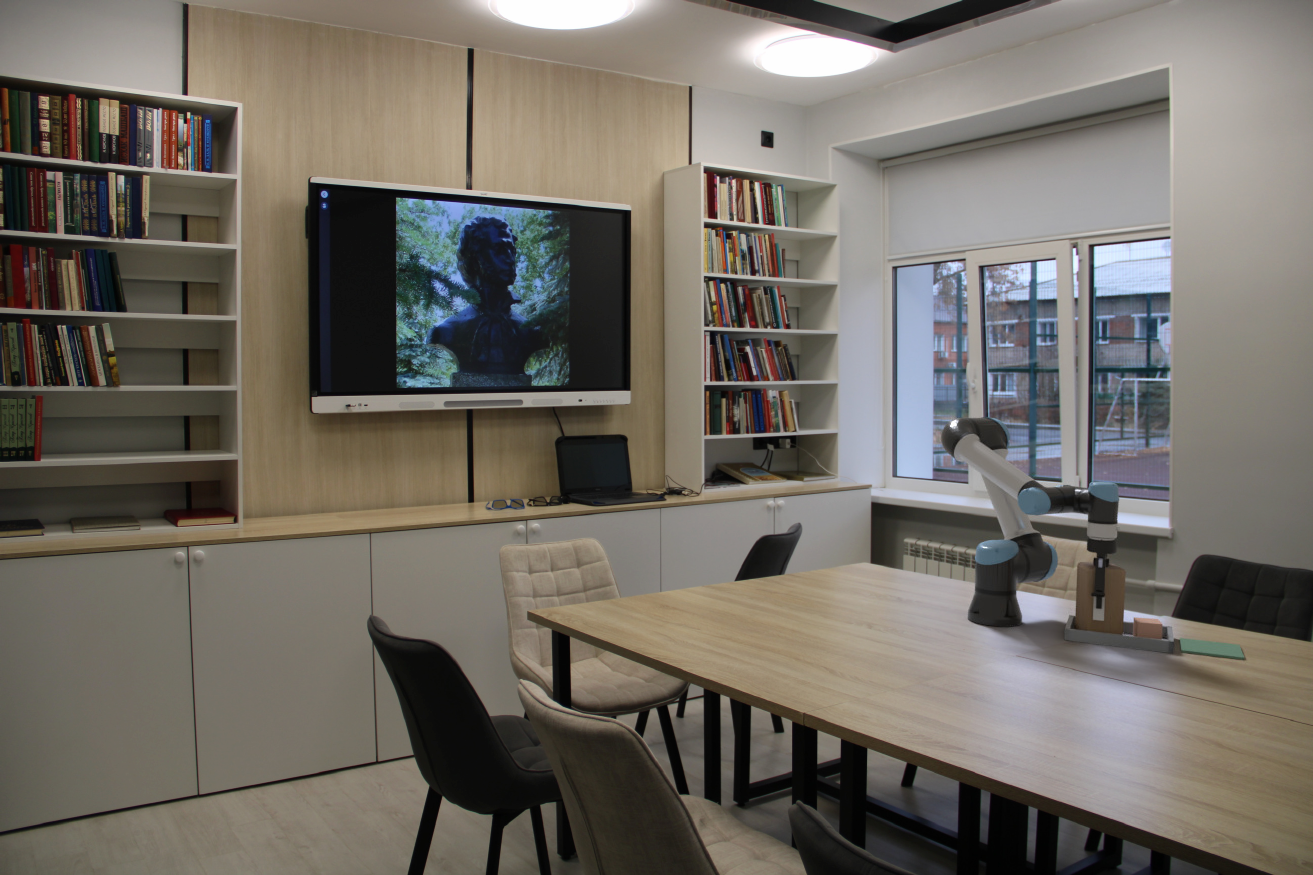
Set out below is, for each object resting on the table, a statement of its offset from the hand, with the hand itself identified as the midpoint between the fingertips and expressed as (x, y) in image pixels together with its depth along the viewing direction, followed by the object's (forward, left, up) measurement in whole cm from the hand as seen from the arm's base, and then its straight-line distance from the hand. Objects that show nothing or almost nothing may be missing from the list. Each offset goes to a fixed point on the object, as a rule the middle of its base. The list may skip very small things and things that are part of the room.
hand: (1099, 615), depth 261 cm
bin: (+5, 0, -6) cm, 8 cm away
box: (+12, 0, -6) cm, 13 cm away
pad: (+27, 0, -6) cm, 28 cm away
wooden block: (0, 0, -6) cm, 6 cm away
